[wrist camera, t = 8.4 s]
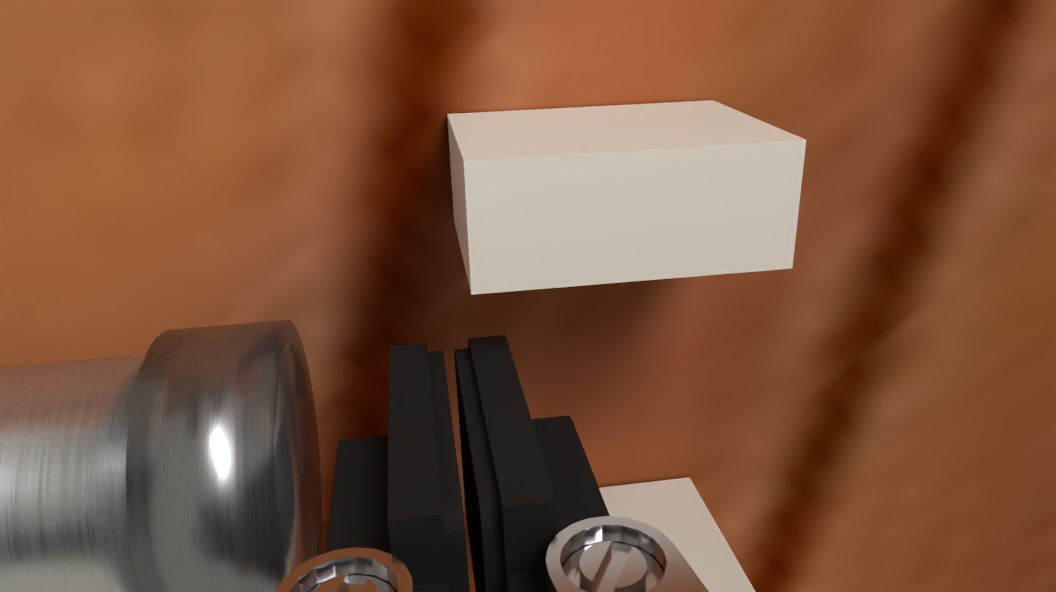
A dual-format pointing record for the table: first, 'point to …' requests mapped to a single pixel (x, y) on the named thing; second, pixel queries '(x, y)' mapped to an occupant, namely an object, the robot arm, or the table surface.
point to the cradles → (628, 232)
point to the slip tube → (162, 466)
